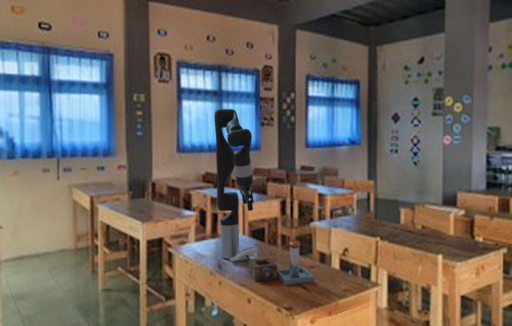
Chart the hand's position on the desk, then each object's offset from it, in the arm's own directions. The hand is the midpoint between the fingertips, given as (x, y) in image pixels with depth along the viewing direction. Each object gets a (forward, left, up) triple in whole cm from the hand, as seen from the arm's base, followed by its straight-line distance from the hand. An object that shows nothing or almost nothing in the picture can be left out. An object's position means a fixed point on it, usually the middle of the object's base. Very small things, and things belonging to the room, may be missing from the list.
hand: (247, 206), depth 187 cm
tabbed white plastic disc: (-12, +2, -30) cm, 33 cm away
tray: (+17, +16, -30) cm, 38 cm away
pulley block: (+10, +4, -30) cm, 32 cm away
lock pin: (+17, +16, -29) cm, 37 cm away
